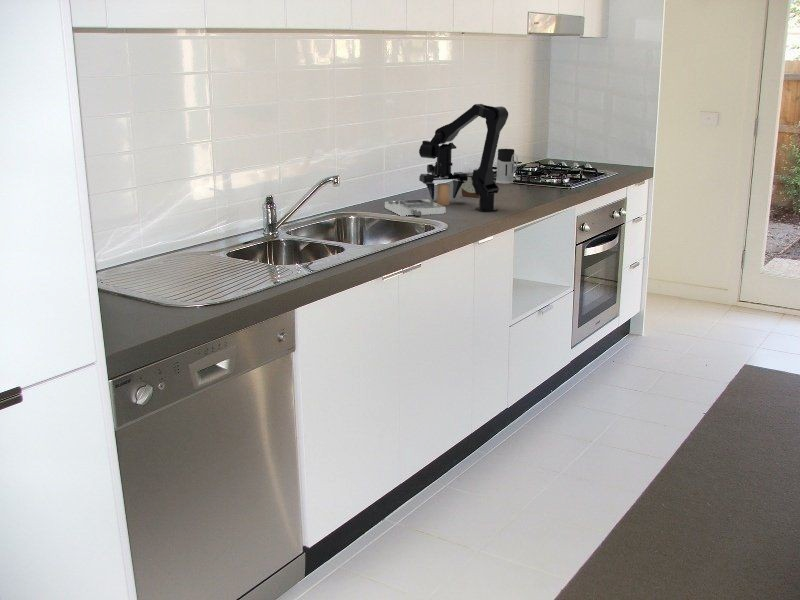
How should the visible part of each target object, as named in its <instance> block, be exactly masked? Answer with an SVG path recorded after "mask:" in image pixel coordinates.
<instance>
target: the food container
mask: <svg viewBox="0 0 800 600" xmlns="http://www.w3.org/2000/svg"><path fill="white" fill-rule="evenodd" d="M465 173H466V174H467V175H468V181H464V182H465V183H463V184H462V185H461V187H460V194H461V198H463V199H464V198H465V199H473V200H474V199H475V200H479V195H476V192H475V189H474V187H473V185H472V180H471V179H472V176H473V171H471V172H470V171H469V172H468V171H467V172H465Z"/></svg>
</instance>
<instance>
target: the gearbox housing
mask: <svg viewBox="0 0 800 600" xmlns="http://www.w3.org/2000/svg"><path fill="white" fill-rule="evenodd" d="M384 208H385V209H386V210H388V211H390V212H391V211H392V213H393V212H394V214H395V213H396V214H395V215H397V214H398V215H397V216H399V215H400V216H399V217H409V216H408V215H415V216H417V217H420V216H428V215H430V214H431V215H445V214H446V209H447V208H446V206H445V205H440V204H437V202H435V201H433V200H432V199H428V198H427V199H422V198H420V199H419V198H417V199H416V198H415V199H400V200H397V199H396V200H395V199H390V200H388V201H384ZM444 213H445V214H444ZM406 215H407V216H406ZM431 215H430V216H431Z"/></svg>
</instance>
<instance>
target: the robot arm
mask: <svg viewBox="0 0 800 600" xmlns="http://www.w3.org/2000/svg"><path fill="white" fill-rule="evenodd" d="M479 117H480V118H483V119H485V125H486V130H487V131H486V137H485V140H484V145H483V149H482V155H481V159H480V164H479V166H478V168H476V169H473V170H472V172H473V176H472V179H471V180H472V185H473V187H474V189H475V192H476V195H479V199H478V207H477V206H476V207H475V209H476V210H478V211H481V212H494V211H496V212H497V211H498V209H497V208H495V194H498V193H499V190H500V188H499V186H498V185H497V184H496V181H494V180H495V173H494V170H493V167H494V161H495V158H496V154H497V153H496V152H497V147H498V144H499V138H500V134H501V131H502V130H503V128H504V126H505V125H506V123H507V120H508V118H509V111H508V110H507V108H506V107H504V106H493V105H487V104H484V103H475V104H473V105H472V106H471V107H470V108H469V109H468V110H466V111H465V112H463V113H462V114H461V115H460V116H459V117H457V118H456V119H454V120H453V121H452V122H450V123H448V124H445V125H443V126H440V127H438V128H437V129H436V130H435V131H434V135H433V137H432V138H431V140H430V141H429V140H422V144H421V145H420V146H419V149H418V153H419V156H420V158H422V159H423V158H424V159H431V160H433V159H436V161H435V165H434V164H427V165H426V172H427V173H421V174H420V175H419V176H418V177H419V182H421V183H422V184H424V185H426V187H427V189H428V193H429V195H430V198H431V199H430V200H431V201H433V200H434V199H435V183H434V181H442V180H443V181H444V180H446V181H447V180H452V186H453V188H452V198H453V199H454V200H455V198H456V196H457V195H458V192H459V190H461V185H462V184H463V183H465V182H464V181H468V175H467V174H466V172H463V171H459V172H453V173H452V167H453V162H452V151H453V150H454V149H457V146H456V145H455V144H454V143H453V141H454V140H455V138H456V137H457V136H458V134H459V133H460V132H461V130H463V129H464V128H466V127H467V126H468V125H469V124H471V123H473V121H474V120H476V119H477V118H479ZM448 142H449V143H448Z"/></svg>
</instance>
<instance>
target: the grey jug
mask: <svg viewBox="0 0 800 600" xmlns="http://www.w3.org/2000/svg"><path fill="white" fill-rule="evenodd" d="M515 159H516V160H515ZM496 161H497V162H496V179H495V184H496V183H497V184H504V185H505V184H514V183H513V181H514V182H515V180H514V175H515V173H516V170H517V168H518V161H519V159H518V155H517V154H515V149H514V148H498V149H497V160H496Z"/></svg>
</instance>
